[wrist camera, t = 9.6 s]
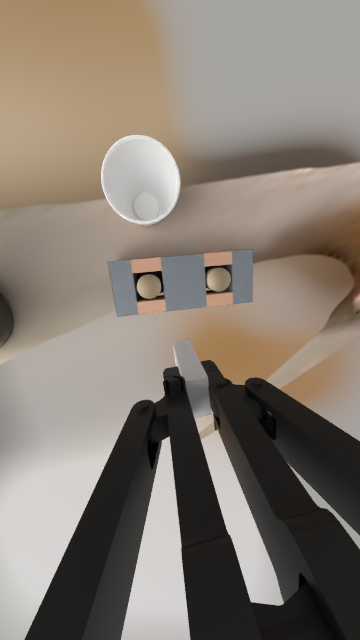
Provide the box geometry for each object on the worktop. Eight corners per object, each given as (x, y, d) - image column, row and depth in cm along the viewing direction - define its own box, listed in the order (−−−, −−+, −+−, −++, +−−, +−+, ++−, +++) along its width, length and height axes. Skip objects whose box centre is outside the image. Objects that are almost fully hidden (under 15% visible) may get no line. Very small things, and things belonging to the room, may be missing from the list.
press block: (123, 309, 39) (117, 316, 34) (115, 263, 37) (107, 261, 31) (239, 297, 41) (252, 301, 36) (238, 252, 39) (252, 249, 33)
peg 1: (141, 295, 39) (138, 299, 33) (138, 274, 38) (135, 275, 32) (161, 293, 39) (162, 297, 33) (159, 272, 38) (159, 273, 32)
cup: (185, 208, 36) (196, 182, 25) (148, 249, 37) (144, 240, 27) (144, 162, 34) (137, 112, 23) (106, 207, 35) (83, 179, 24)
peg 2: (201, 289, 40) (208, 292, 34) (200, 269, 39) (207, 268, 33) (220, 287, 40) (230, 290, 34) (219, 267, 39) (230, 266, 33)
